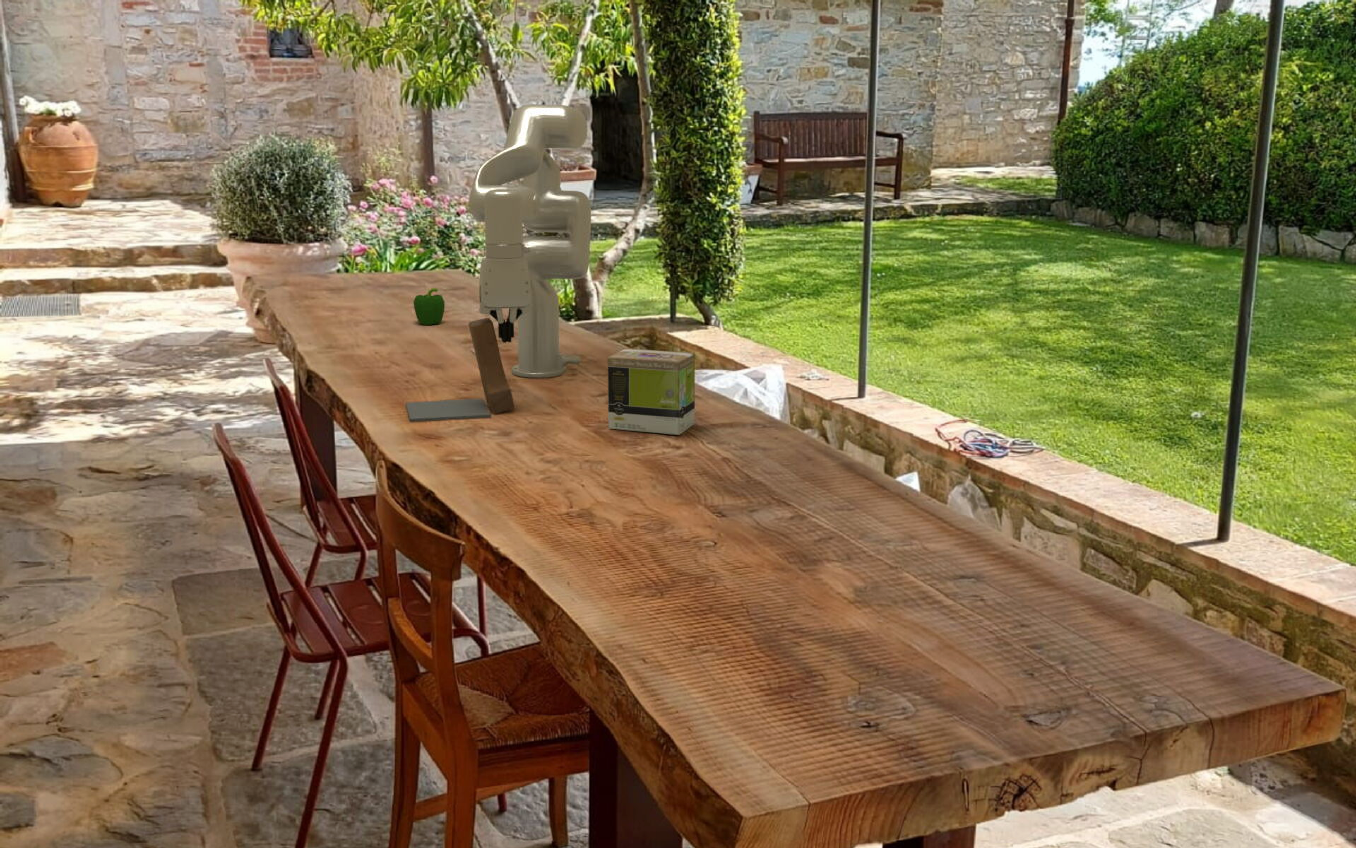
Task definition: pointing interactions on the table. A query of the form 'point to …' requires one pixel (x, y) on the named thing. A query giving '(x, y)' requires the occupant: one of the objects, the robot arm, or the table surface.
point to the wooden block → (491, 366)
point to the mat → (447, 410)
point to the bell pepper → (429, 308)
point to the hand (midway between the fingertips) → (506, 341)
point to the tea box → (651, 391)
